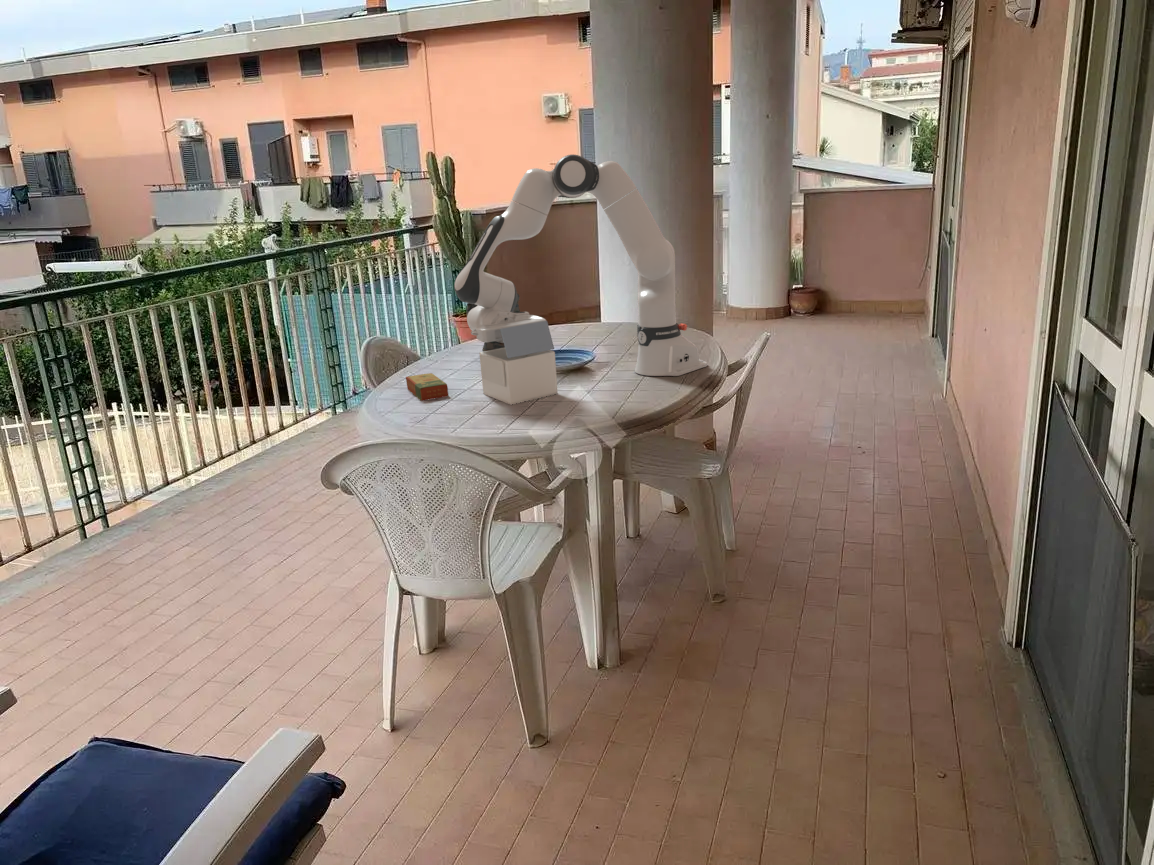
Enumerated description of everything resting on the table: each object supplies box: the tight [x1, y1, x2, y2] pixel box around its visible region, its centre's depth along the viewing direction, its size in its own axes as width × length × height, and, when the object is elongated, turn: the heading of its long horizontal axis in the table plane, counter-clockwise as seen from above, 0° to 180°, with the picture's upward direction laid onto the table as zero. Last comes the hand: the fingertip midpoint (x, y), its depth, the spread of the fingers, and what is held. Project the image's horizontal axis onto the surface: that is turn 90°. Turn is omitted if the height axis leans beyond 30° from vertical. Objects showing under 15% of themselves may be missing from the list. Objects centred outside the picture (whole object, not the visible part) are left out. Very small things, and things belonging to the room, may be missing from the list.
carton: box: [405, 372, 450, 402], centre depth 240 cm, size 8×16×4 cm, turn 25°
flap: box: [500, 320, 555, 358], centre depth 222 cm, size 14×8×1 cm
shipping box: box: [479, 348, 559, 406], centre depth 231 cm, size 16×17×12 cm
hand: (525, 333), depth 222 cm, fingers closed, pressing on flap
